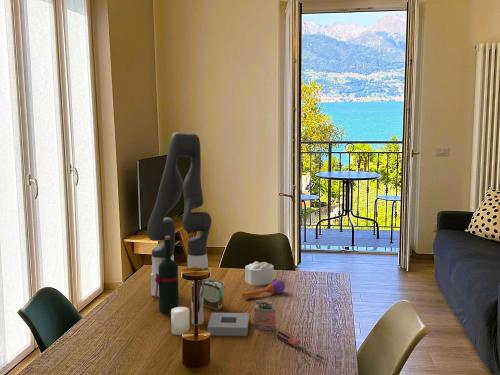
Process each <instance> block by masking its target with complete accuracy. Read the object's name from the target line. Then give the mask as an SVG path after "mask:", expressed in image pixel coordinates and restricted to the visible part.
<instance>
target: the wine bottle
mask: <svg viewBox="0 0 500 375" xmlns="http://www.w3.org/2000/svg"><path fill="white" fill-rule="evenodd" d="M158 268H159V275H158V274H157V273H156V277H155V281H156V283H157V284H156V295H155V296H154V297H153V301H152V302H154V303H155V302H156V301H157V298H158V311H159V314H160V313H161V314H164V315H171V310H172V309H173V308H176V307H180V305H179V304H180V302H179V300H180V299H179V298H180V297H179V267H178V264H177V262H176V261H175V260H174V261H173V260H171V242H170V236H165V260H164V261H162V262H161V263H160V264H159V267H158ZM158 284H159V297H157V293H158Z"/></svg>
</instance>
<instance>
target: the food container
mask: <svg viewBox="0 0 500 375" xmlns="http://www.w3.org/2000/svg"><path fill="white" fill-rule="evenodd" d="M203 282H204V286H203V287H204V290H203V294H202V295H204V306H205V307H207V308H209V309H210V308H211V309H214V310H216V311H220V310H221V309H222V308H223V305H224V304H223V303H224V302H223V301H224V293H225V292H224V291H225V290H226V284H225V282H224V281H223V280H220V279H214V278H211V279H210V278H207V279H205V280H203Z"/></svg>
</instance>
